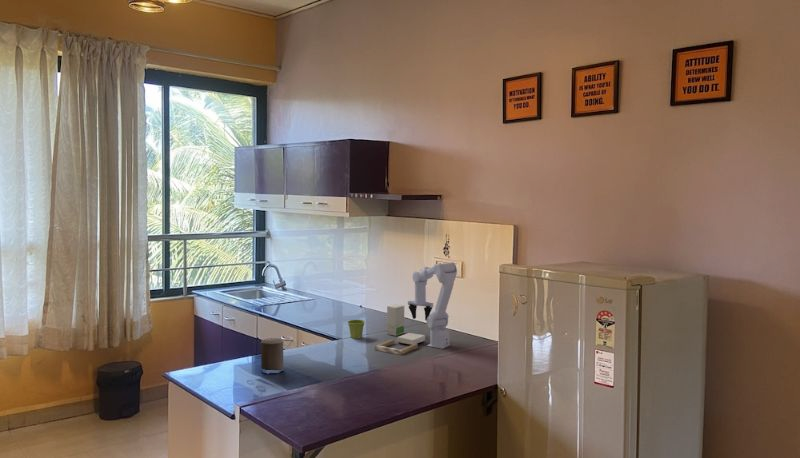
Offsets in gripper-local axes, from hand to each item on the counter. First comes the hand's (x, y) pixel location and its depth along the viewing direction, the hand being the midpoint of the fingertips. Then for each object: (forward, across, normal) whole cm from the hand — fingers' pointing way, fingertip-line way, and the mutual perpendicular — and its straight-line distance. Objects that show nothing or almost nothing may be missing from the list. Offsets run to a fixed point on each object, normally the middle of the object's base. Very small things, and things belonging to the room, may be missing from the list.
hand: (420, 319), depth 313 cm
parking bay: (+10, +1, +22) cm, 25 cm away
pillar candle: (+11, +29, +80) cm, 86 cm away
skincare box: (+10, +17, -2) cm, 20 cm away
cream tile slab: (+10, 0, +10) cm, 14 cm away
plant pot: (+10, +31, +15) cm, 36 cm away
